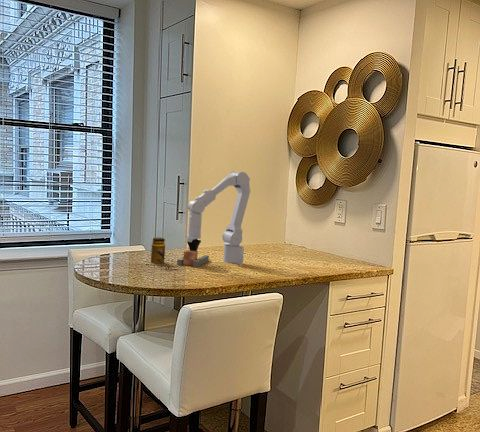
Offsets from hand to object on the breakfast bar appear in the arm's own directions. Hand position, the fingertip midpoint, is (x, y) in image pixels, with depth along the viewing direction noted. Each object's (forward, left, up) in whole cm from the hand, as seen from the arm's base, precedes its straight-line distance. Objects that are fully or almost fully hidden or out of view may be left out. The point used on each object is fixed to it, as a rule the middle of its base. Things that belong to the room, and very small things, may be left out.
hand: (193, 255), depth 223 cm
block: (0, +4, -3) cm, 5 cm away
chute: (0, -1, -4) cm, 4 cm away
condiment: (+15, +8, -4) cm, 18 cm away
